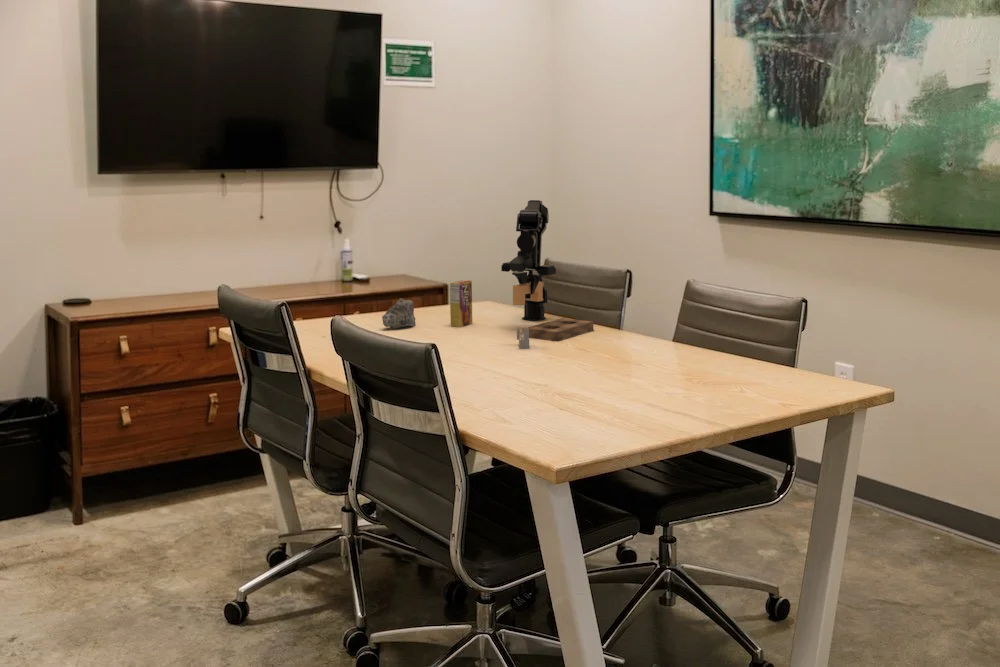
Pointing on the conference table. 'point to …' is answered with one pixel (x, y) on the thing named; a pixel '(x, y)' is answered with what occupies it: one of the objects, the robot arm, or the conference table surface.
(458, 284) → the candy box
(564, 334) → the wooden board with recesses
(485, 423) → the conference table surface
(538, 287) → the orange brown flat block
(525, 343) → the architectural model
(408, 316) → the mineral rock
